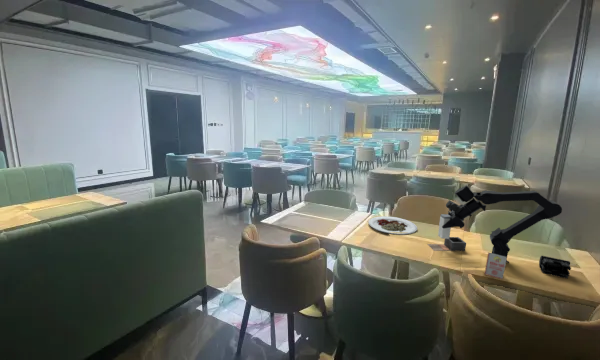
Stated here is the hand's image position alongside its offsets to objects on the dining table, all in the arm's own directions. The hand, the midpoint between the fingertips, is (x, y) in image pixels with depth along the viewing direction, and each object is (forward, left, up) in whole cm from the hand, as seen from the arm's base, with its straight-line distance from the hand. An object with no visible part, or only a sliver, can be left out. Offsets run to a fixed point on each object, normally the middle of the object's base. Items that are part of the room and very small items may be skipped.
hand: (442, 225), depth 150 cm
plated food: (+31, +15, -14) cm, 37 cm away
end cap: (-22, -43, -14) cm, 50 cm away
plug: (-1, -1, -6) cm, 6 cm away
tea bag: (-25, -13, -13) cm, 31 cm away
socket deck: (0, -4, -13) cm, 14 cm away
